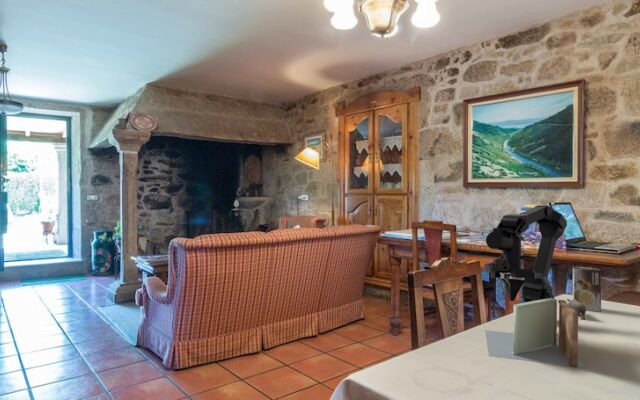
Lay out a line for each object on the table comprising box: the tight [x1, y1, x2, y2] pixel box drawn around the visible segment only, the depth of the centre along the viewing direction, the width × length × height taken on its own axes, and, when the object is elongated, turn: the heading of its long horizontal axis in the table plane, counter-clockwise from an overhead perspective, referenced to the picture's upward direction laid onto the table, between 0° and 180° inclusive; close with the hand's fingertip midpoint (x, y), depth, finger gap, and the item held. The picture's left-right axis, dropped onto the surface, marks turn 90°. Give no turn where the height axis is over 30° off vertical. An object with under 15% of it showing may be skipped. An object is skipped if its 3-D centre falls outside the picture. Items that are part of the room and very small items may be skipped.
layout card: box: [484, 329, 585, 369], centre depth 120 cm, size 23×22×1 cm
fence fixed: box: [557, 299, 579, 368], centre depth 112 cm, size 16×2×14 cm, turn 161°
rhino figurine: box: [566, 298, 587, 321], centre depth 153 cm, size 4×14×6 cm, turn 165°
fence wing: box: [512, 298, 558, 355], centre depth 117 cm, size 2×18×14 cm, turn 118°
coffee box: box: [572, 266, 602, 313], centre depth 162 cm, size 9×6×16 cm
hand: (511, 301), depth 132 cm, fingers closed
